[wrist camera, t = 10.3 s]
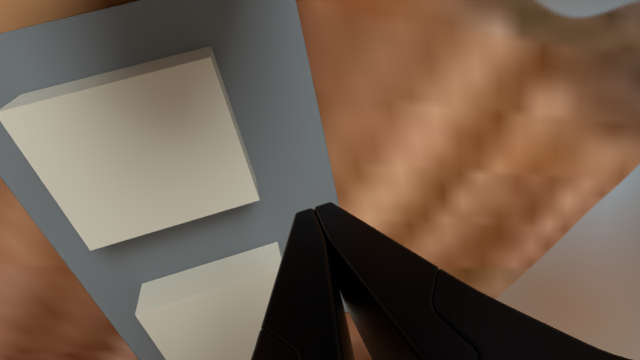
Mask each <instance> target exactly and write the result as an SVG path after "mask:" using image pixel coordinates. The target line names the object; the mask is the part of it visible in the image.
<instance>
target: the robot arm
mask: <svg viewBox="0 0 640 360" xmlns="http://www.w3.org/2000/svg"><path fill="white" fill-rule="evenodd" d="M341 296H342V297H341ZM342 298H343V301H344V303H345V305H346V307H347V309H348V311H349V313H350V315H351V317H352V319H353V321H354V323H355V325H356V328H357V330H358V332H359V334H360V336H361V338H362V340H363V342H364V344H365V346H366V348H367V350H368V352H369V354H370V356H371V358H372V360H632V359H628V358H624V357H621V356H618V355H614V354H612V353H609V352H606V351H603V350H601V349H598V348H596V347H594V346H592V345H589V344H587V343H585V342H583V341H581V340H578V339H576V338H574V337H572V336H570V335H568V334H566V333H563V332H562V331H560V330H557V329H555V328H553V327H551V326H549V325H547V324H545V323H543V322H540V321H539V320H536V319H534V318H532V317H530V316H528V315H526V314H524V313H522V312H520V311H518V310H516V309H513V308H511V307H509V306H507V305H505V304H503V303H501V302H499V301H497V300H495V299H493V298H492V297H490V296H488V295H486V294H484V293H482V292H480V291H478V290H476V289H474V288H473V287H471V286H469V285H467V284H466V283H464V282H462V281H460V280H459V279H457V278H455V277H454V276H452V275H450V274H449V273H447V272H445V271H444V270H442V269H439V268H438V267H437V266H435V265H434V264H432V263H430V262H429V261H427V260H426V259H424V258H422V257H421V256H419V255H417V254H416V253H414V252H412V251H411V250H409V249H408V248H406V247H404V246H403V245H401V244H399V243H398V242H396V241H394V240H393V239H391V238H389V237H388V236H386V235H385V234H383V233H381V232H380V231H378V230H376V229H375V228H373V227H371V226H370V225H368V224H367V223H365V222H363V221H362V220H360V219H358V218H357V217H355V216H353V215H352V214H350V213H349V212H347V211H345V210H344V209H342V208H340V207H339V206H337V205H335V204H334V203H332V202H328V203H325V204H322V205H319V206H316V207H315V208H314V209H312V208H309V209H306V210H303V211H299V212H297V213H296V214H295V216H294V219H293V223H292V226H291V229H290V233H289V236H288V239H287V243H286V246H285V249H284V253H283V256H282V259H281V263H280V266H279V269H278V272H277V276H276V279H275V282H274V286H273V289H272V292H271V296H270V299H269V302H268V306H267V309H266V312H265V316H264V319H263V322H262V325H261V329H262V330H260V332H259V335H258V338H257V341H256V345H255V348H254V351H253V354H252V357H251V360H355V358H354V353H353V348H352V344H351V339H350V334H349V329H348V324H347V319H346V314H345V309H344V305H343V301H342Z"/></svg>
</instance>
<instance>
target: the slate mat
mask: <svg viewBox="0 0 640 360" xmlns="http://www.w3.org/2000/svg"><path fill="white" fill-rule="evenodd" d="M208 46H211V47H212V50H213V53H214V56H215V59H216V62H217V65H218V68H219V71H220V74H221V77H222V80H223V83H224V86H225V89H226V92H227V95H228V97H229V100H230V103H231V106H232V109H233V112H234V115H235V118H236V121H237V124H238V127H239V130H240V133H241V136H242V139H243V142H244V145H245V148H246V151H247V153H248V156H249V159H250V162H251V165H252V168H253V171H254V174H255V177H256V182H257V188H258V193H259V199H260V200H259V201H255V202H252V203H249V204H245V205H242V206H238V207H235V208H232V209H228V210H225V211H222V212H218V213H215V214H212V215H208V216H205V217H202V218H198V219H195V220H192V221H188V222H185V223H182V224H178V225H175V226H171V227H168V228H165V229H161V230H158V231H155V232H151V233H148V234H145V235H141V236H138V237H135V238H131V239H128V240H125V241H121V242H118V243H114V244H111V245H108V246H104V247H101V248H98V249H94V250H91V251H90V250H89V248H88V247H87V245H86V244H85V242H84V241H83V240H82V238H81V237H80V235H79V234H78V232H77V231H76V229H75V228H74V227H73V225H72V224H71V222H70V221H69V219H68V218H67V216H66V215H65V214H64V212H63V211H62V209H61V208H60V206H59V205H58V204H57V202H56V201H55V199H54V198H53V196H52V195H51V193H50V192H49V191H48V189H47V188H46V186H45V185H44V183H43V182H42V180H41V179H40V178H39V176H38V175H37V173H36V172H35V170H34V169H33V168H32V166H31V165H30V163H29V162H28V160H27V159H26V157H25V156H24V155H23V153H22V152H21V150H20V149H19V147H18V146H17V144H16V143H15V142H14V140H13V139H12V137H11V136H10V134H9V133H8V132H7V130H6V129H5V127H4V126H3V124H2V123H1V121H0V177H1V178H2V180H3V181H4V182H5V184H6V185H7V186H8V188H9V189H10V190H11V192H12V193H13V194H14V195H15V197H16V198H17V199H18V201H19V202H20V203H21V205H22V206H23V207H24V209H25V210H26V211H27V213H28V214H29V215H30V217H31V218H32V219H33V221H34V222H35V223H36V225H37V226H38V227H39V228H40V230H41V231H42V232H43V234H44V235H45V236H46V238H47V239H48V240H49V242H50V243H51V244H52V246H53V247H54V248H55V250H56V251H57V252H58V254H59V255H60V256H61V258H62V259H63V260H64V261H65V263H66V264H67V265H68V267H69V268H70V269H71V271H72V272H73V273H74V275H75V276H76V277H77V279H78V280H79V281H80V283H81V284H82V285H83V287H84V288H85V289H86V290H87V292H88V293H89V294H90V296H91V297H92V298H93V300H94V301H95V302H96V304H97V305H98V306H99V308H100V309H101V310H102V312H103V313H104V314H105V316H106V317H107V318H108V320H109V321H110V322H111V323H112V325H113V326H114V327H115V329H116V330H117V331H118V333H119V334H120V335H121V337H122V338H123V339H124V341H125V342H126V343H127V345H128V346H129V347H130V349H131V350H132V351H133V353H134V354H135V355H136V356H137V358H138V359H139V360H166V359H165V358H164V356H163V355H162V353H161V352H160V350H159V349H158V348H157V346H156V345H155V343H154V342H153V340H152V339H151V337H150V336H149V335H148V333H147V332H146V330H145V329H144V327H143V326H142V324H141V323H140V322H139V320H138V319H137V317H136V316H135V312H136V308H137V304H138V299H139V295H140V290H141V286H142V284H143V283H146V282H149V281H152V280H156V279H159V278H162V277H165V276H168V275H172V274H175V273H178V272H181V271H185V270H188V269H191V268H194V267H197V266H201V265H204V264H207V263H210V262H214V261H217V260H220V259H223V258H226V257H230V256H233V255H236V254H239V253H243V252H246V251H249V250H252V249H255V248H259V247H262V246H265V245H268V244H272V243H275V242H278V245H279V248H280V251H281V254H282V256H283V253H284V249H285V246H286V243H287V239H288V236H289V233H290V229H291V226H292V223H293V219H294V216H295V214H296V213H297V212H299V211H303V210H306V209H309V208H312V209H314V208H315V207H316V206H319V205H322V204H325V203H328V202H332V203H334V204H335V205H337V206H339V203H338V198H337V193H336V189H335V184H334V179H333V175H332V170H331V165H330V160H329V156H328V151H327V146H326V142H325V137H324V132H323V127H322V123H321V118H320V113H319V108H318V104H317V99H316V94H315V90H314V85H313V80H312V75H311V71H310V66H309V61H308V57H307V52H306V47H305V42H304V38H303V33H302V28H301V23H300V19H299V14H298V9H297V5H296V0H138V1H134V2H130V3H126V4H121V5H117V6H113V7H109V8H105V9H101V10H96V11H92V12H88V13H84V14H80V15H76V16H71V17H67V18H63V19H59V20H55V21H51V22H46V23H42V24H38V25H34V26H30V27H26V28H21V29H17V30H13V31H9V32H5V33H1V34H0V109H1V108H2V107H4V106H5V105H7V104H8V103H10V102H11V101H12V100H14V99H15V98H17V97H18V96H20V95H21V94H24V93H28V92H32V91H36V90H40V89H44V88H48V87H52V86H56V85H60V84H63V83H67V82H71V81H75V80H79V79H83V78H87V77H91V76H95V75H99V74H103V73H106V72H110V71H114V70H118V69H122V68H126V67H130V66H134V65H138V64H142V63H146V62H149V61H153V60H157V59H161V58H165V57H169V56H173V55H177V54H181V53H185V52H189V51H192V50H196V49H200V48H204V47H208ZM341 297H342V296H341ZM342 301H343V298H342ZM343 305H344V309H345V313H347V312H349V311H348V309H347V307H346V305H345V303H344V301H343Z"/></svg>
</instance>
